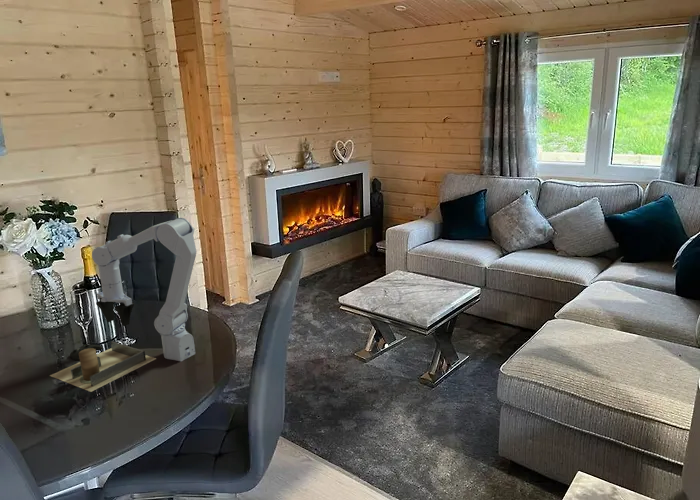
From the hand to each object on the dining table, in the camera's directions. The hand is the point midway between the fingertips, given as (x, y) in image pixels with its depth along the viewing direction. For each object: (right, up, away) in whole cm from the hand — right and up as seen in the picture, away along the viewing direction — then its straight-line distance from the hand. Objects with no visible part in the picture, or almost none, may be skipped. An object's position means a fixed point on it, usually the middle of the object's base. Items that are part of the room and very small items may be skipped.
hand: (118, 323), depth 165 cm
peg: (-1, -13, -15) cm, 20 cm away
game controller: (-11, -11, +2) cm, 16 cm away
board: (0, -13, -8) cm, 15 cm away
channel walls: (0, -12, -8) cm, 15 cm away
